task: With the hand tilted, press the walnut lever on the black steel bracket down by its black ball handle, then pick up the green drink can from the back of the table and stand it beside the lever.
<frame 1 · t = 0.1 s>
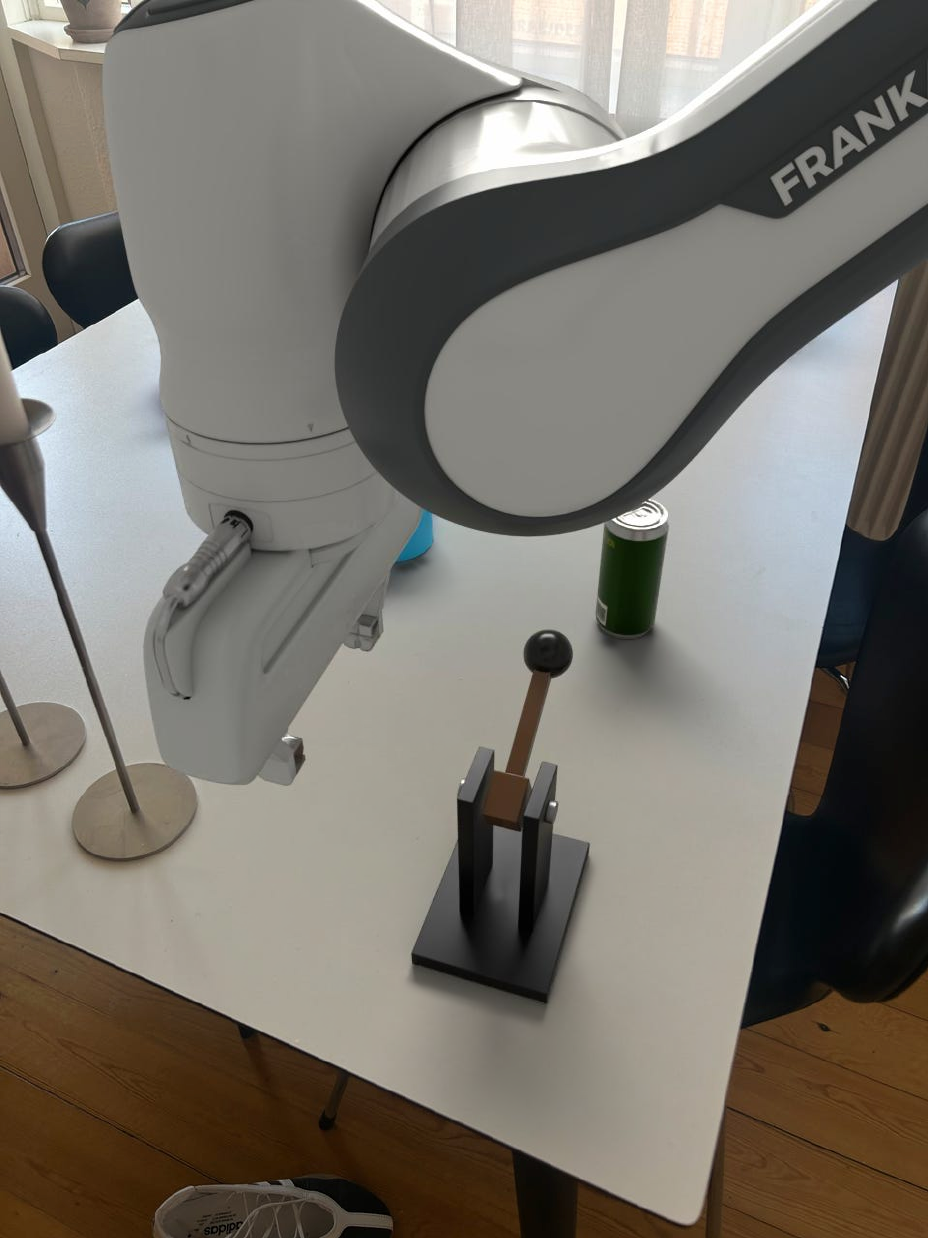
hand: (325, 702, 47), 24 cm above the table, tool pointing down, fingers open, 8 cm apart
orange and white toaster: (326, 306, 146), on the table
garlic bulb: (462, 321, 142), on the table
lever: (528, 723, 60), point 13 cm above the table, hinge at 25.0°
mug: (401, 530, 100), on the table
green drink can: (624, 624, 88), on the table
pottery vessel: (666, 325, 140), on the table
teapot: (231, 387, 126), on the table
bracket: (504, 905, 66), on the table
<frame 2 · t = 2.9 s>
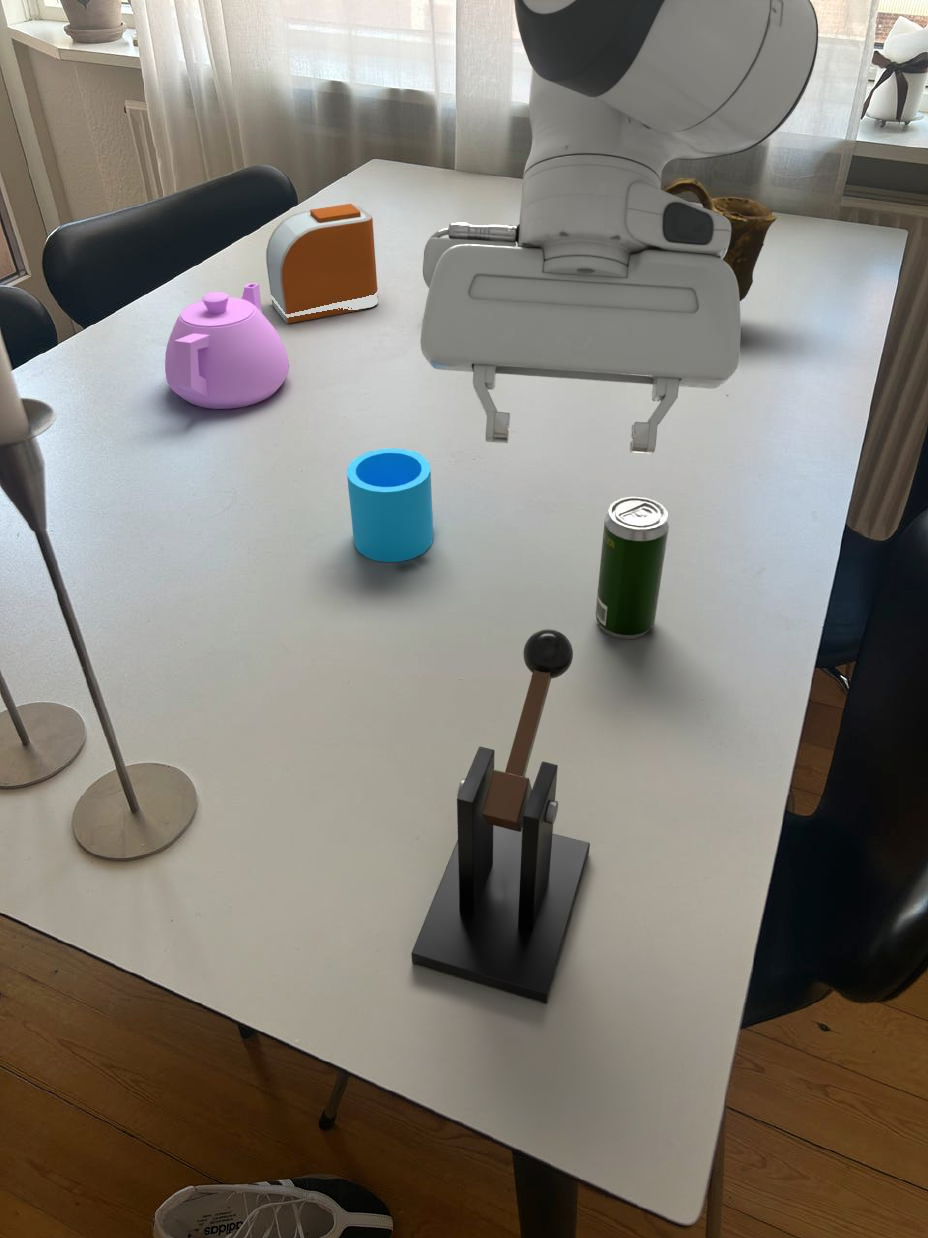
hand: (569, 447, 63), 25 cm above the table, tool tilted 35°, fingers open, 8 cm apart
nothing on the table moved.
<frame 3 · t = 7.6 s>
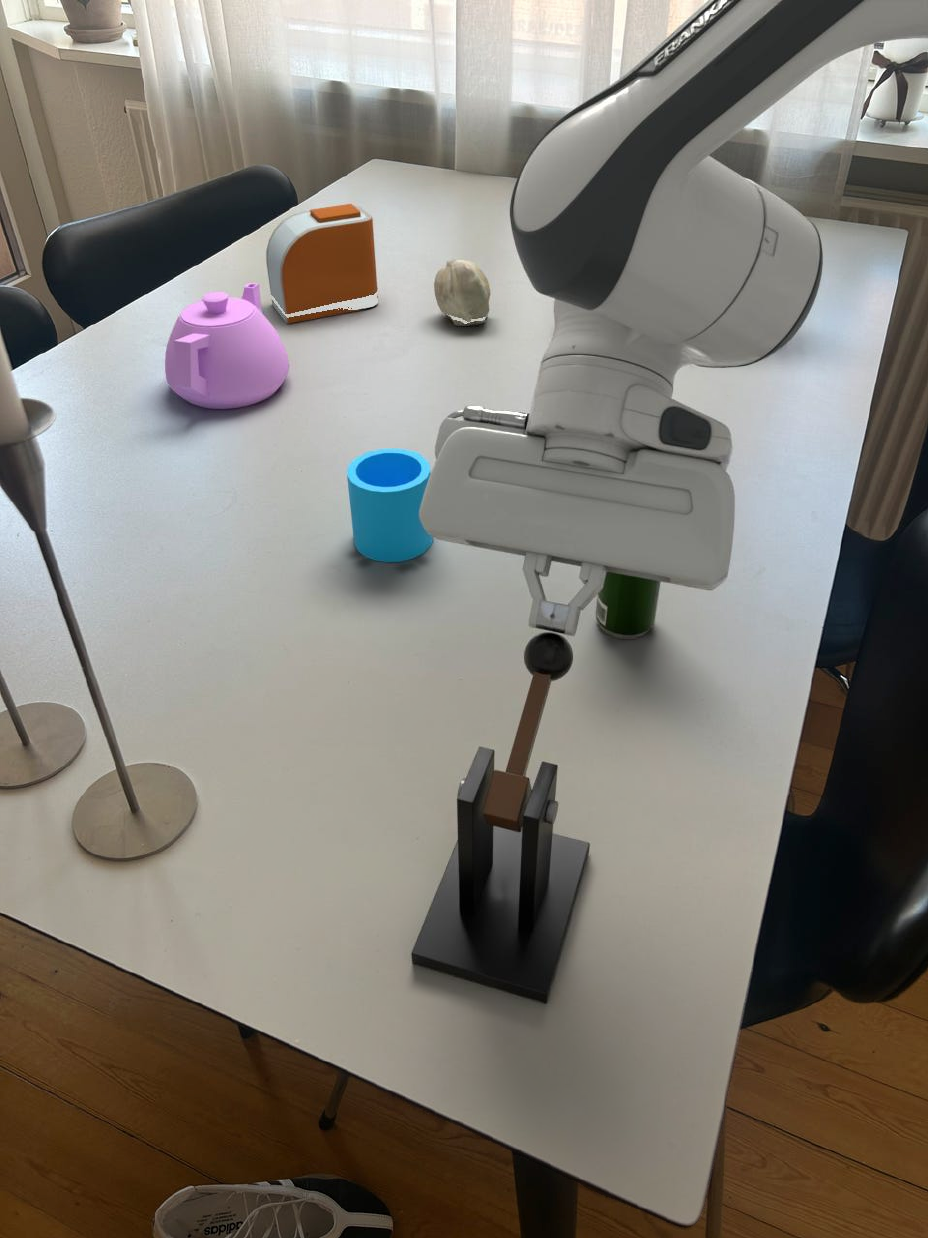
hand: (551, 631, 62), 17 cm above the table, tool tilted 45°, fingers closed, pressing on lever
lever: (529, 724, 61), point 13 cm above the table, hinge at 22.6°, touching gripper
everything else where it was.
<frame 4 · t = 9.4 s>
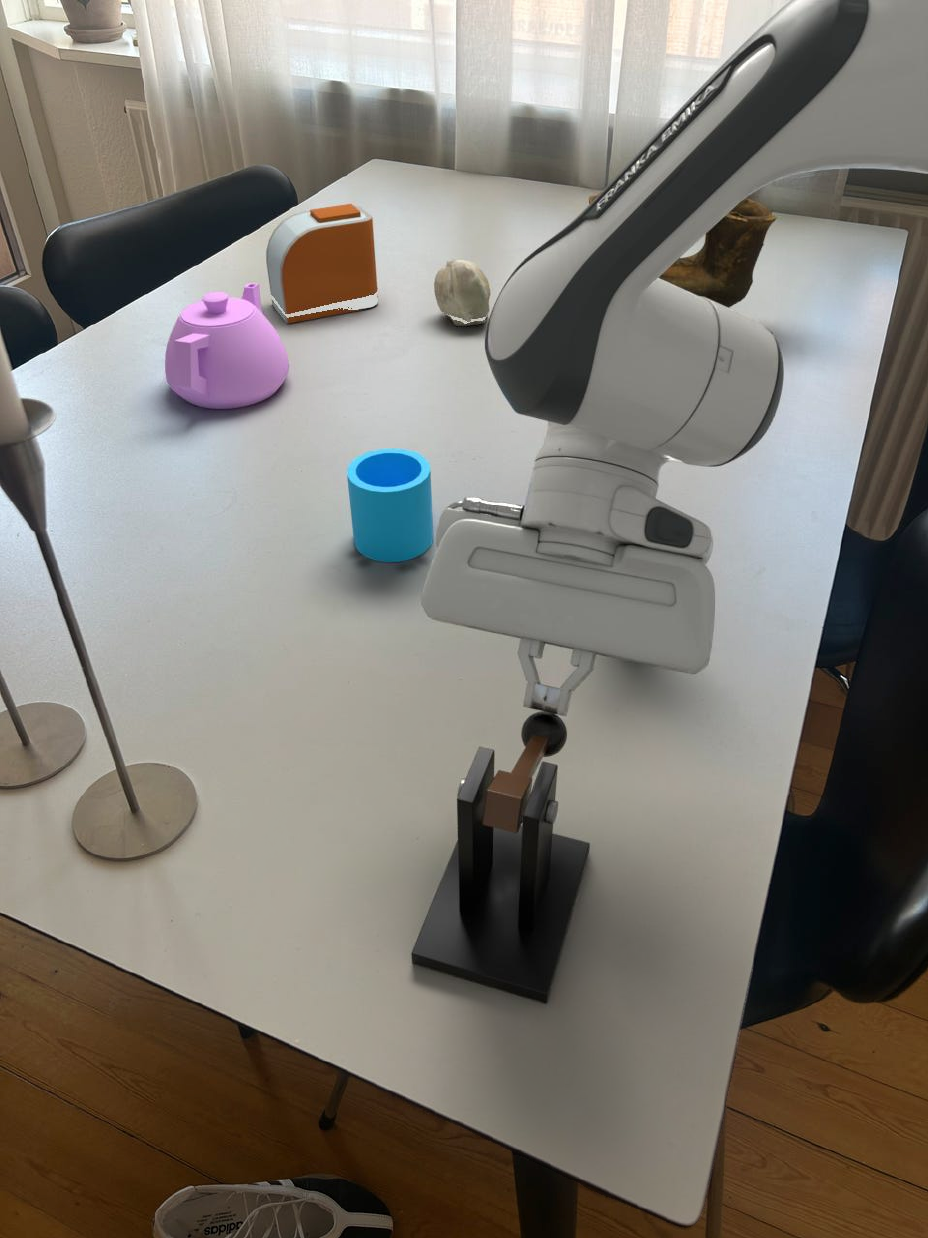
hand: (544, 711, 66), 10 cm above the table, tool tilted 45°, fingers closed, pressing on lever
lever: (527, 764, 63), point 9 cm above the table, hinge at -20.9°, touching gripper
everything else where it was.
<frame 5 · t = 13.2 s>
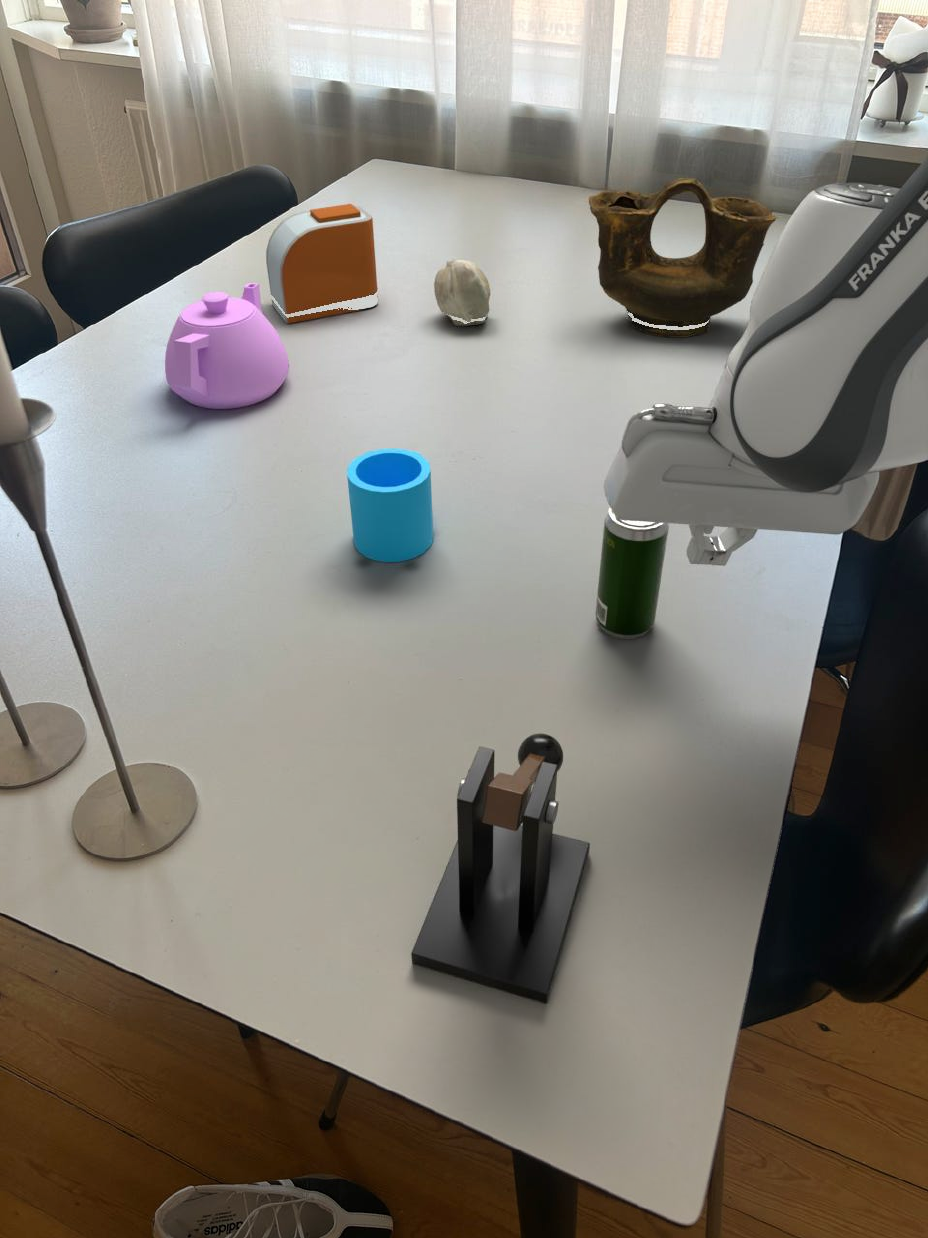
hand: (704, 560, 78), 10 cm above the table, tool pointing down, fingers closed
lever: (525, 776, 63), point 8 cm above the table, hinge at -30.5°
everything else where it was.
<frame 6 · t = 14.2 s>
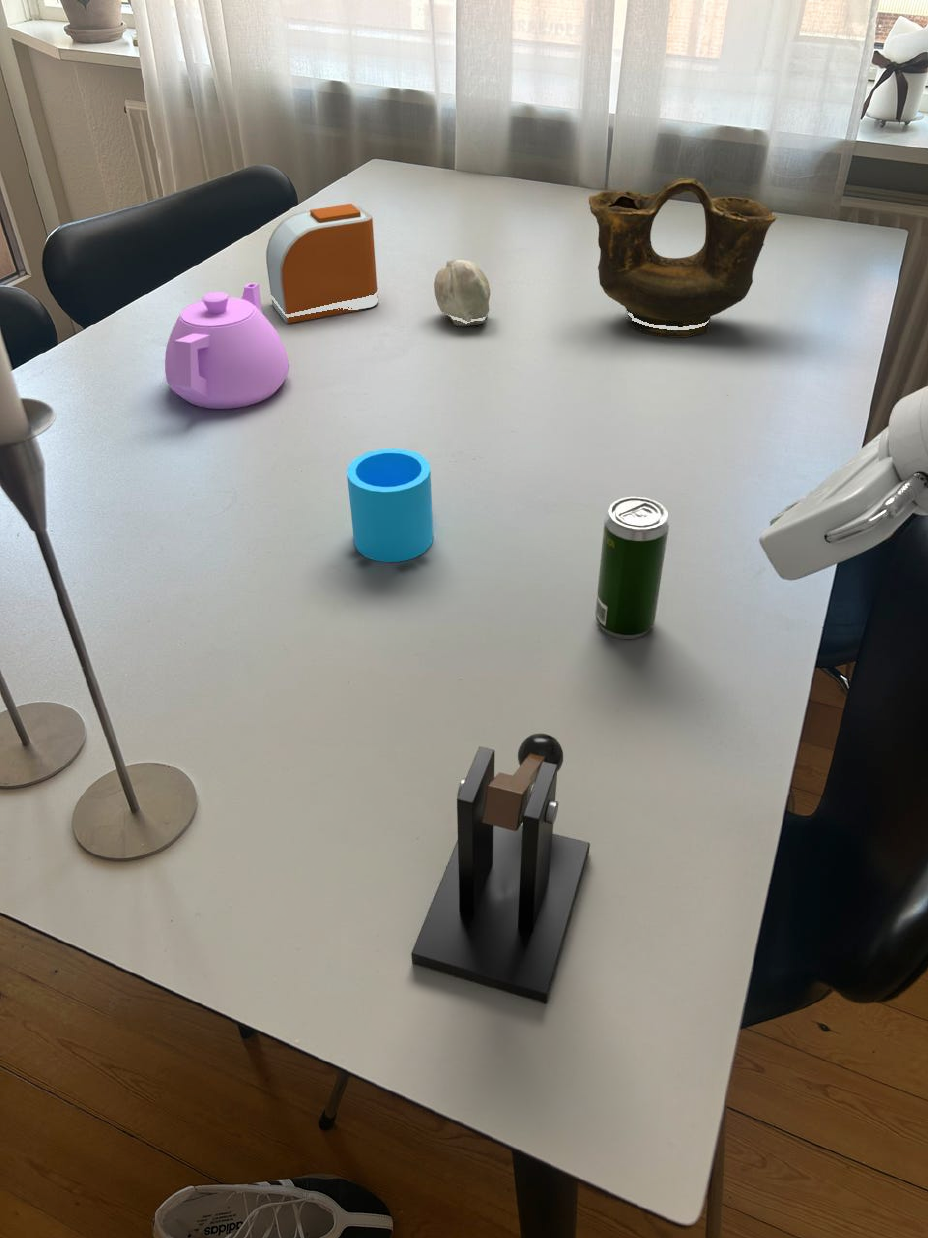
hand: (783, 523, 72), 16 cm above the table, tool tilted 45°, fingers closed
nothing on the table moved.
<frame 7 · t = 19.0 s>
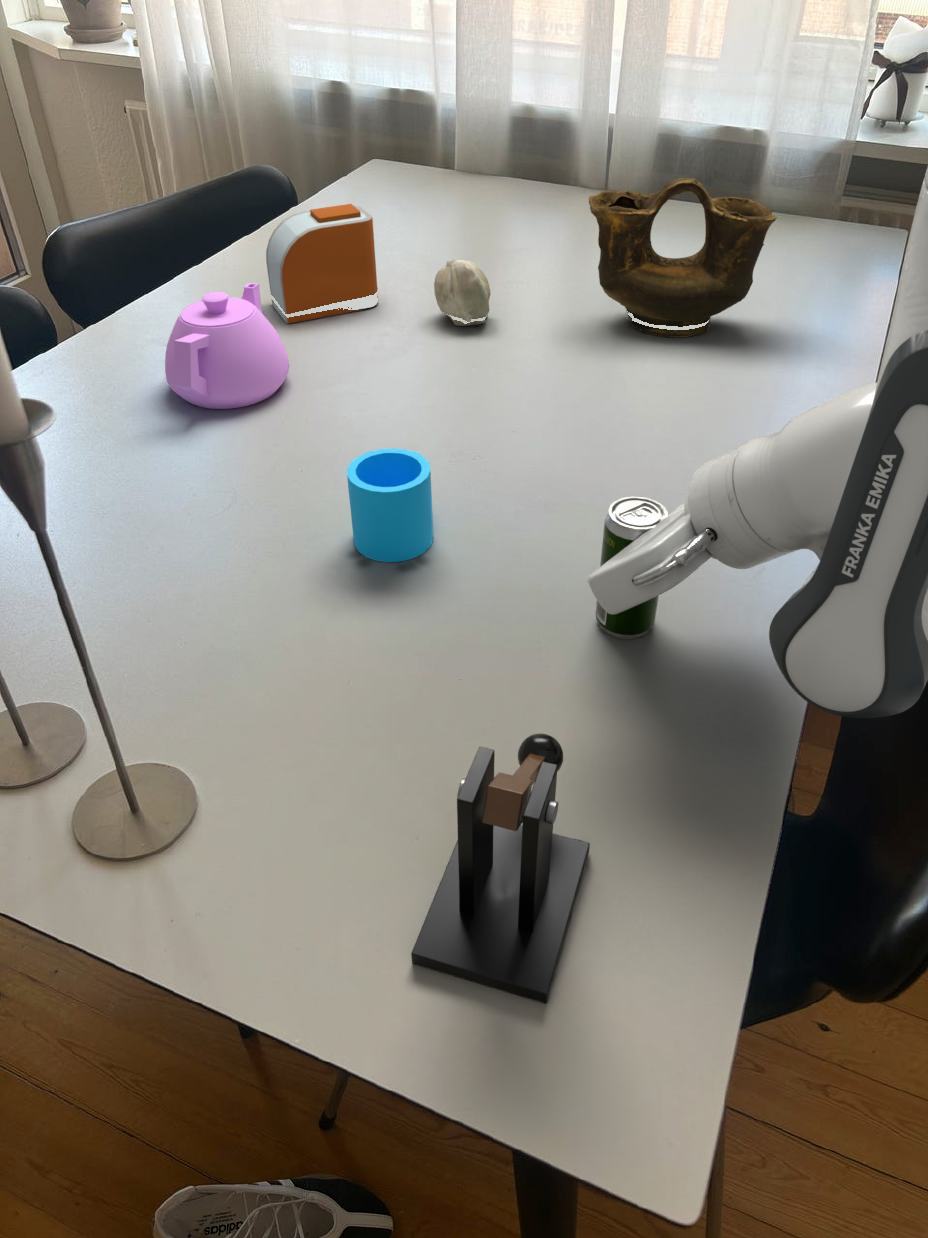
hand: (625, 560, 84), 7 cm above the table, tool tilted 45°, fingers closed on green drink can, 5 cm apart
green drink can: (624, 623, 88), on the table, touching gripper
everything else where it was.
when the fingers open (7 cm above the table, at t = 26.1 s): green drink can stays where it is, on the table.
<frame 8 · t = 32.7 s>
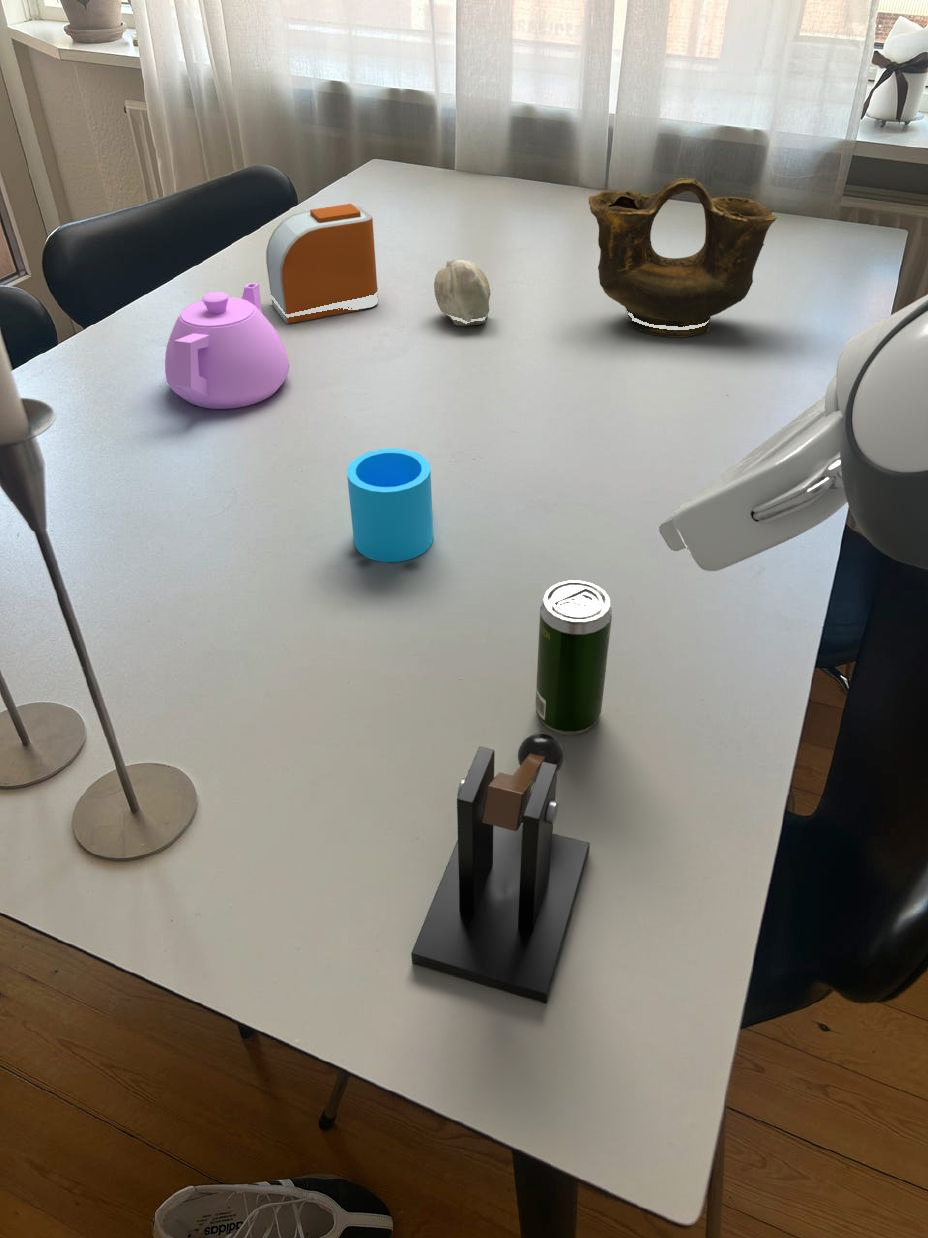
hand: (714, 500, 58), 25 cm above the table, tool tilted 45°, fingers open, 8 cm apart
green drink can: (567, 715, 80), on the table
everything else where it was.
at the end: lever at -30° (first picture: +25°); green drink can inside the target area (0.2 cm from its centre), on the table; green drink can tilted 0° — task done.
